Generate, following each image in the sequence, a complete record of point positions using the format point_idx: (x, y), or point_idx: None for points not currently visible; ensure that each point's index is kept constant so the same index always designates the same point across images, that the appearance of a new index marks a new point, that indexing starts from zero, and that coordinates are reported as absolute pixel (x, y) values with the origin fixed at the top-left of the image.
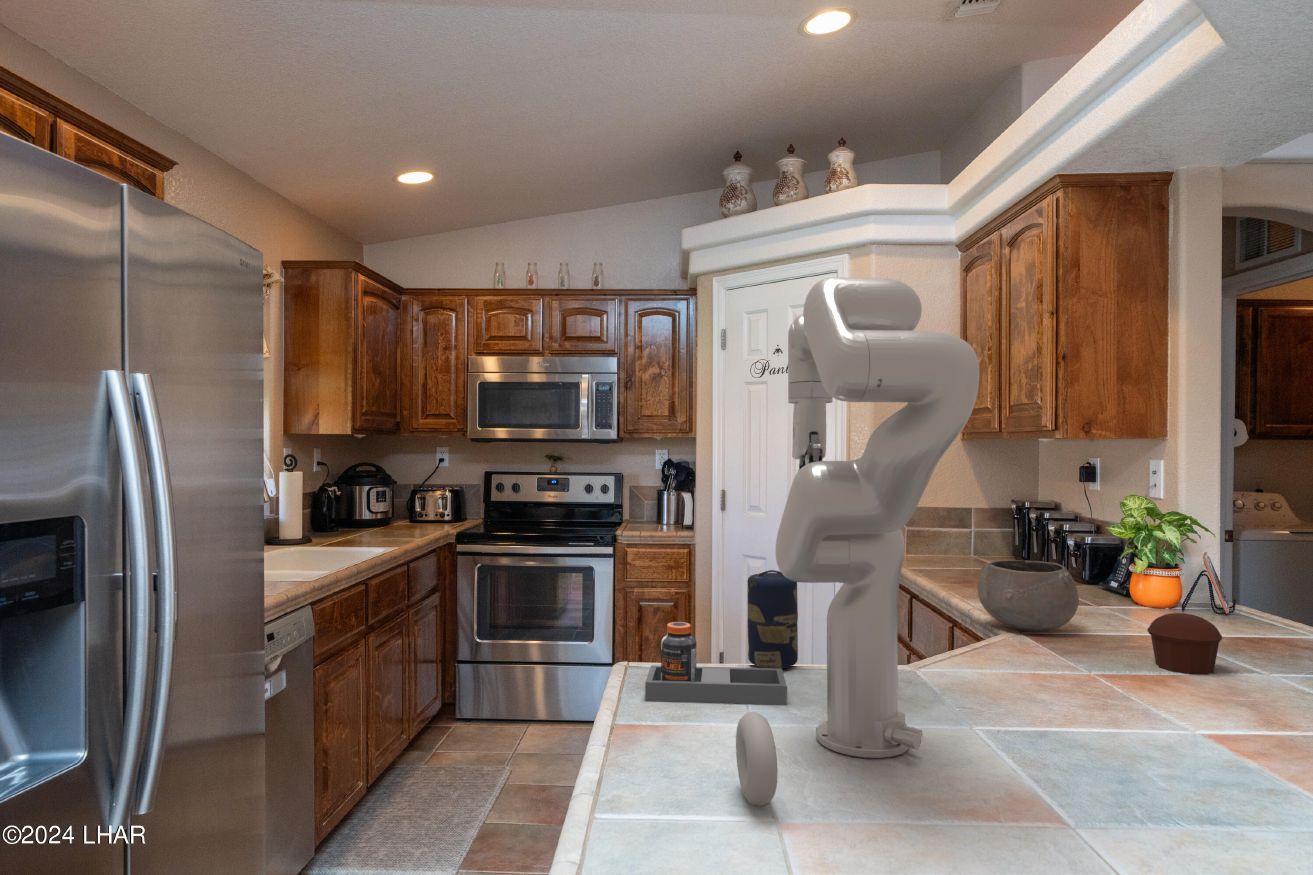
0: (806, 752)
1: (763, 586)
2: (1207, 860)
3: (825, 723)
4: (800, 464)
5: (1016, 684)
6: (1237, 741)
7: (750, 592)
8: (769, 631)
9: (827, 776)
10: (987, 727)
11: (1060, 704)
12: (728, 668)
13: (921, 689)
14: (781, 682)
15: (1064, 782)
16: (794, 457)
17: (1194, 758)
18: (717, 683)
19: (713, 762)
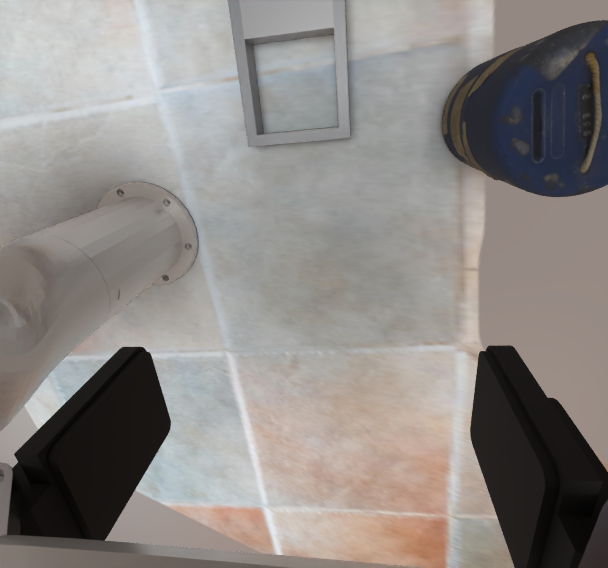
0: (94, 167)
1: (499, 88)
2: (30, 408)
3: (160, 196)
4: (583, 558)
5: (395, 437)
6: (250, 520)
7: (535, 42)
8: (457, 110)
9: (42, 187)
10: (233, 365)
11: (324, 449)
12: (336, 24)
13: (361, 333)
14: (266, 137)
15: None
16: (174, 555)
17: (202, 479)
18: (234, 12)
19: (19, 48)
